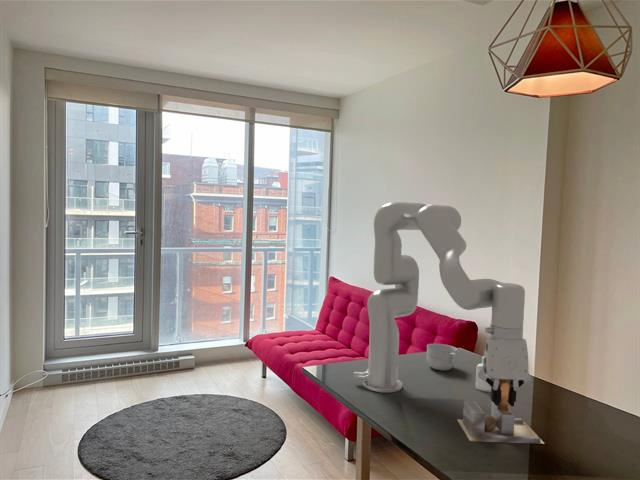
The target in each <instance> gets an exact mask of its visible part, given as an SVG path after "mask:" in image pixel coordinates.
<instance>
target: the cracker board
mask: <svg viewBox="0 0 640 480" xmlns="http://www.w3.org/2000/svg"><path fill="white" fill-rule="evenodd" d="M485 415H486V413H485V412H484V411H483V409H482V408H481V406H480V405H479V404H478V403H477V401H476V400H463V412H462V419H456V420H457V422H458V424H459V425H460V427H461V429H462V430H463V432H464V434H465V435H466V437H467V438H468V440H469V442H489V443H491V442H492V443H512V444H513V443H516V444H517V443H518V444H538V445H539V444H540V445H541V444H543V445H544V444H545V442H544V441H543V440H542V438H540V437H539V436H538V434H537V433H536V432H535V431H534V430H533V429H532V428H531V427H530V426H529V425H528V424H527V423H526V421H524V420H523V418H520V417H515V420H514V436H500V435H499V433H498V432H497V431H496V429H494V430H493V431H486V430H484V426H485Z"/></svg>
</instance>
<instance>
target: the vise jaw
mask: <svg viewBox="0 0 640 480" xmlns="http://www.w3.org/2000/svg"><path fill="white" fill-rule="evenodd" d="M510 384H511V380H501V379H499V385H498V390H499V391H500V401H499V406H496V405H495V404H494V403H493V401H492V402H491V407H490V408H491V409H490V415H491V416H493V417H494V418H495V420H496V423H497V425H496V428H495V429H496V431H497V432H498V433H499V435H500V436H514V420H515V418H516V416H515V414H514V413H513V411H511V409H510V404H509V403H510Z"/></svg>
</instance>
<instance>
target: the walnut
mask: <svg viewBox="0 0 640 480" xmlns="http://www.w3.org/2000/svg"><path fill="white" fill-rule="evenodd" d="M496 425H497V423H496V420H495V418H494V417H493V416H491V414H485V426H484V430H486V431H493V430H494V429H495V428H496Z"/></svg>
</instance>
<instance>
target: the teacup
mask: <svg viewBox="0 0 640 480" xmlns="http://www.w3.org/2000/svg"><path fill="white" fill-rule="evenodd" d="M457 352H458V348H457V347H455V346H452V345H448V344H444V343H443V344H442V343H428V344H427V345H426V363H427V364H428V365H429V366H430V367H431V368H432V369H433V370H438V371H450V370H451V369H452V368H454V367H455V366H456V365H457V363H458V361H459V359H458V358H459V357H458V355H457Z"/></svg>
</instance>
